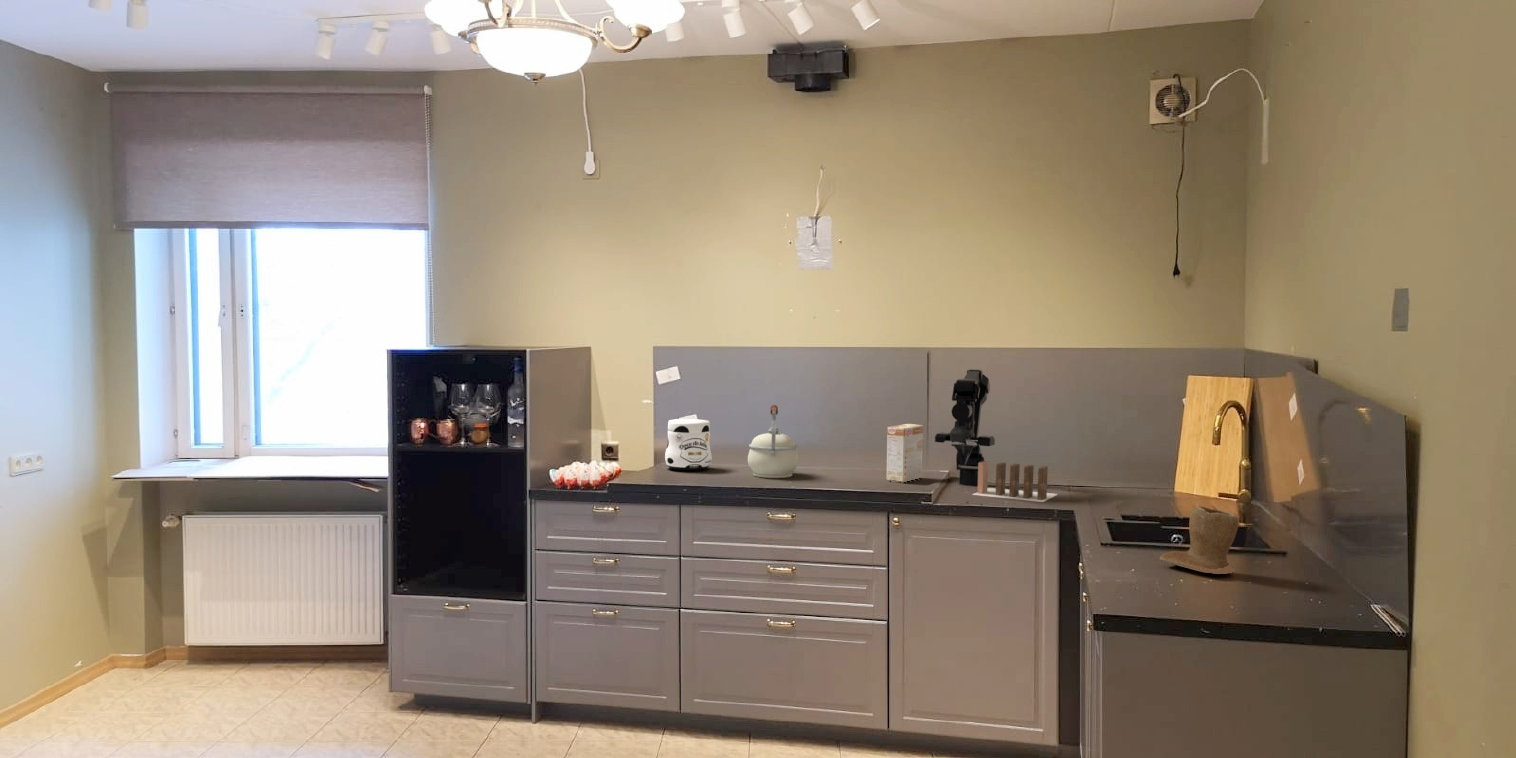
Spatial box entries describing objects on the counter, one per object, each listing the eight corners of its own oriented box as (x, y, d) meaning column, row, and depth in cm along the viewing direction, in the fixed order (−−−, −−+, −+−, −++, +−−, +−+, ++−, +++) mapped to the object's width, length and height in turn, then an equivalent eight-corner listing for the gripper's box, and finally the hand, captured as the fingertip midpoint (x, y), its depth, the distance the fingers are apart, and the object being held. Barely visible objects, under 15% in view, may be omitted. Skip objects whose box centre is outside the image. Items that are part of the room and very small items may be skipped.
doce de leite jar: (693, 474, 384) (693, 424, 383) (655, 469, 393) (655, 421, 392) (720, 468, 399) (721, 420, 398) (683, 464, 408) (684, 417, 407)
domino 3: (1009, 496, 340) (1010, 465, 340) (1013, 494, 345) (1014, 463, 344) (1014, 497, 340) (1015, 465, 339) (1018, 494, 344) (1019, 464, 343)
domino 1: (977, 493, 346) (978, 462, 345) (982, 491, 350) (983, 460, 349) (982, 493, 345) (983, 463, 344) (987, 491, 349) (988, 461, 349)
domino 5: (1037, 499, 336) (1038, 467, 335) (1041, 497, 340) (1042, 466, 340) (1042, 499, 335) (1043, 468, 335) (1046, 497, 340) (1047, 466, 339)
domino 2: (995, 495, 343) (996, 464, 342) (1000, 493, 347) (1001, 462, 346) (1000, 495, 342) (1001, 464, 341) (1004, 493, 346) (1006, 462, 346)
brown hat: (1248, 575, 244) (1251, 510, 243) (1214, 581, 238) (1217, 514, 237) (1191, 561, 257) (1193, 500, 256) (1158, 566, 251) (1160, 503, 250)
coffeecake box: (905, 476, 387) (906, 423, 386) (922, 479, 383) (924, 424, 382) (885, 481, 375) (886, 426, 374) (903, 483, 371) (904, 427, 370)
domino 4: (1023, 497, 338) (1024, 466, 338) (1027, 495, 343) (1028, 464, 342) (1028, 498, 337) (1029, 467, 337) (1032, 496, 342) (1033, 465, 341)
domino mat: (971, 498, 343) (971, 494, 343) (989, 490, 359) (989, 487, 359) (1043, 505, 332) (1043, 501, 332) (1057, 497, 347) (1058, 494, 347)
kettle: (798, 480, 374) (800, 409, 372) (746, 479, 374) (747, 408, 372) (797, 470, 399) (798, 403, 397) (748, 469, 399) (749, 402, 397)
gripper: (929, 418, 347) (928, 465, 348) (985, 422, 338) (983, 470, 339) (941, 415, 357) (940, 461, 358) (995, 419, 347) (994, 466, 348)
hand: (963, 465), depth 350 cm, fingers closed
